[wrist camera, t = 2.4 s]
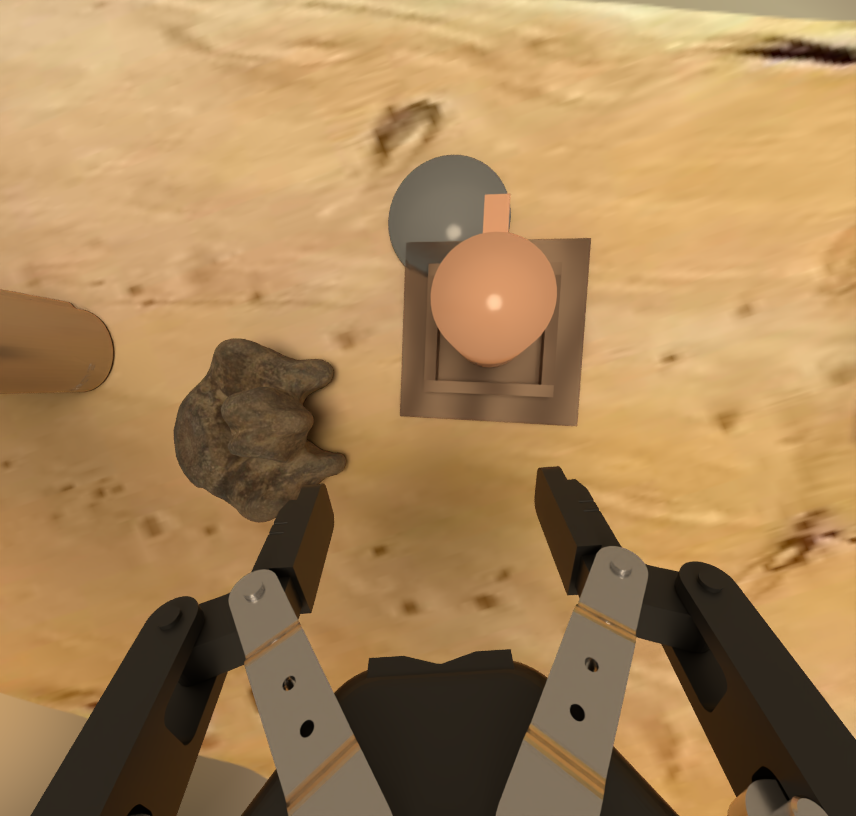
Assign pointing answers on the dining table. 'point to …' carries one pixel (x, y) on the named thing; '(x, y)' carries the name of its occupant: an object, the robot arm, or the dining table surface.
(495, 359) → the peach orange tall mug
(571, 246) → the holder
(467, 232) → the grey disc
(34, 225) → the dining table surface
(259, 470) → the decorative stone
